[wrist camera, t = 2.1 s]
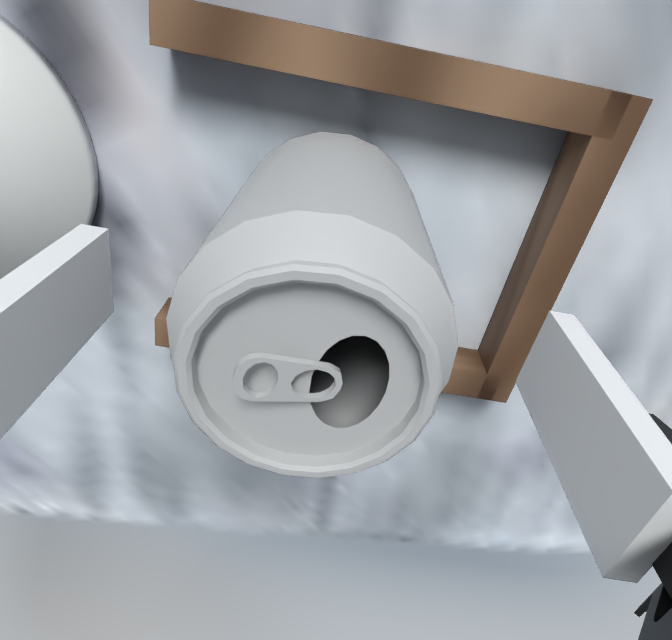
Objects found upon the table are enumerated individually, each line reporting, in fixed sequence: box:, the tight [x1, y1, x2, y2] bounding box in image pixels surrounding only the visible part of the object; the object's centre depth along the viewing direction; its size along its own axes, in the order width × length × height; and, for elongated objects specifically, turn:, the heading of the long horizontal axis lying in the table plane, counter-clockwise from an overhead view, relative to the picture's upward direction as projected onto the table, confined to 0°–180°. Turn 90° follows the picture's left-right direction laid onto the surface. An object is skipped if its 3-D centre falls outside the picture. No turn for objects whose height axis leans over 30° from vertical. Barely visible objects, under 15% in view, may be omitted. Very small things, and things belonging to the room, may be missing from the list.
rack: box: [149, 0, 653, 403], centre depth 20 cm, size 17×14×2 cm
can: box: [166, 131, 458, 478], centre depth 16 cm, size 8×8×12 cm
